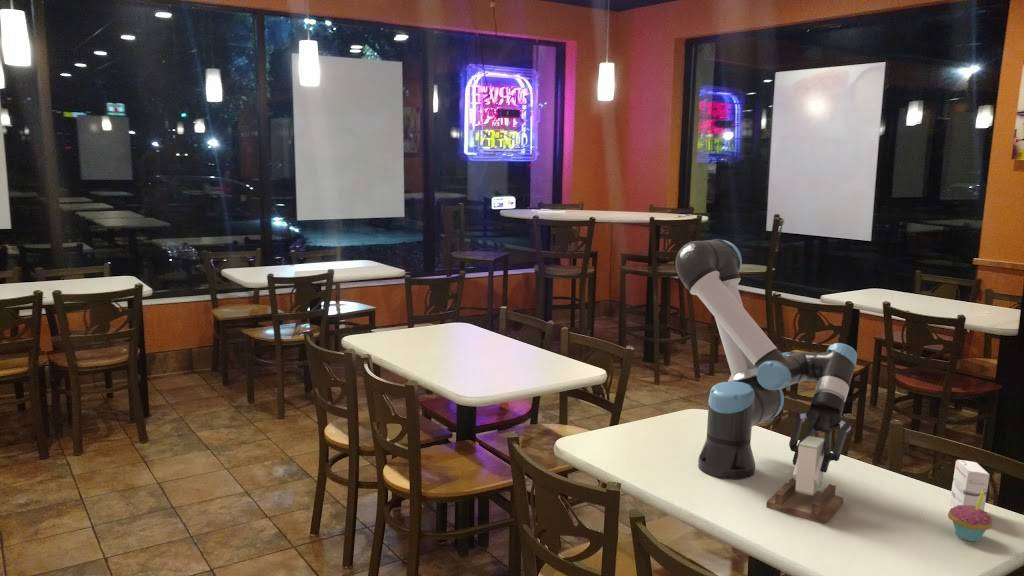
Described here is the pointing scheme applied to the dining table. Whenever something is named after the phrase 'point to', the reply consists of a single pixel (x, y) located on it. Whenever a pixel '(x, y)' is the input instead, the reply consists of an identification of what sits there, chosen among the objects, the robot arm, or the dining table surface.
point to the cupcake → (970, 520)
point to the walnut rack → (806, 502)
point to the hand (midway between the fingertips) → (805, 479)
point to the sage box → (809, 464)
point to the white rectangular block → (968, 484)
